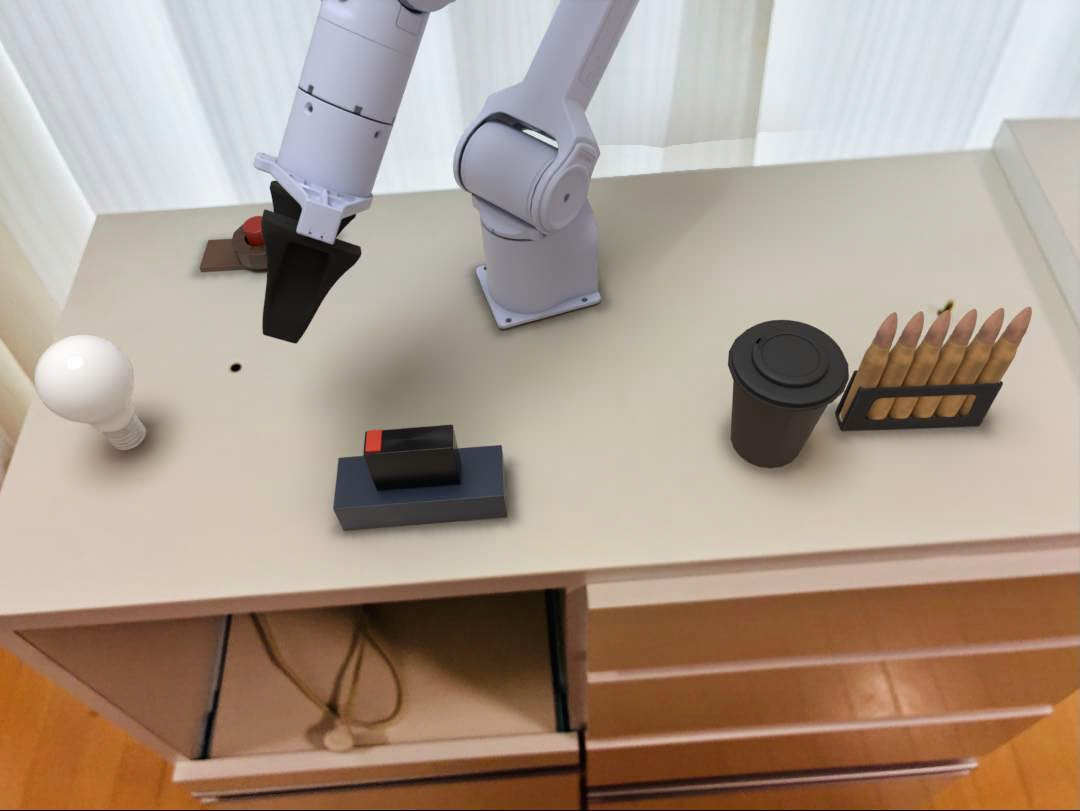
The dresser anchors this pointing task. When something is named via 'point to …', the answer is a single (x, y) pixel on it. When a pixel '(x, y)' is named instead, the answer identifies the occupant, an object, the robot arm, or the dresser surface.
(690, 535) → the dresser surface
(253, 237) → the release button
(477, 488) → the switch base
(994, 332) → the ammunition clip
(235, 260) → the block
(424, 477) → the black block red marker
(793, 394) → the coffee cup
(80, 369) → the lightbulb
